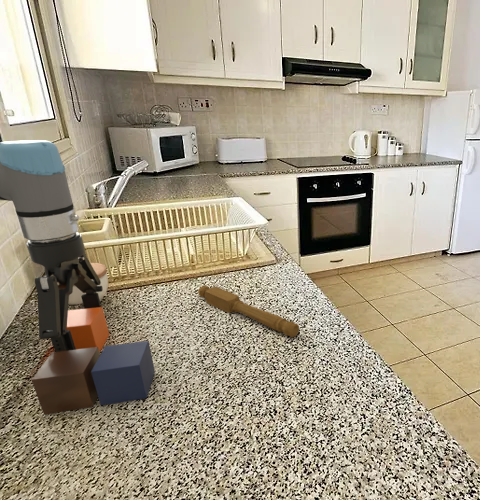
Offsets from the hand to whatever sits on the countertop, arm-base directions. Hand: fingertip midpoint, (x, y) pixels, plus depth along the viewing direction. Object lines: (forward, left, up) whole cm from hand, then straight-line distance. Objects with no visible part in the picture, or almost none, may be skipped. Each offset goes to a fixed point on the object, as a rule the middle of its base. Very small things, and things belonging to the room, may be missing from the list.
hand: (84, 341), depth 71 cm
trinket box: (-6, +19, -1) cm, 20 cm away
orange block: (0, 0, -1) cm, 1 cm away
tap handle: (+29, +5, -1) cm, 30 cm away
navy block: (+11, -14, -1) cm, 18 cm away
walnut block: (+3, -14, -1) cm, 14 cm away
